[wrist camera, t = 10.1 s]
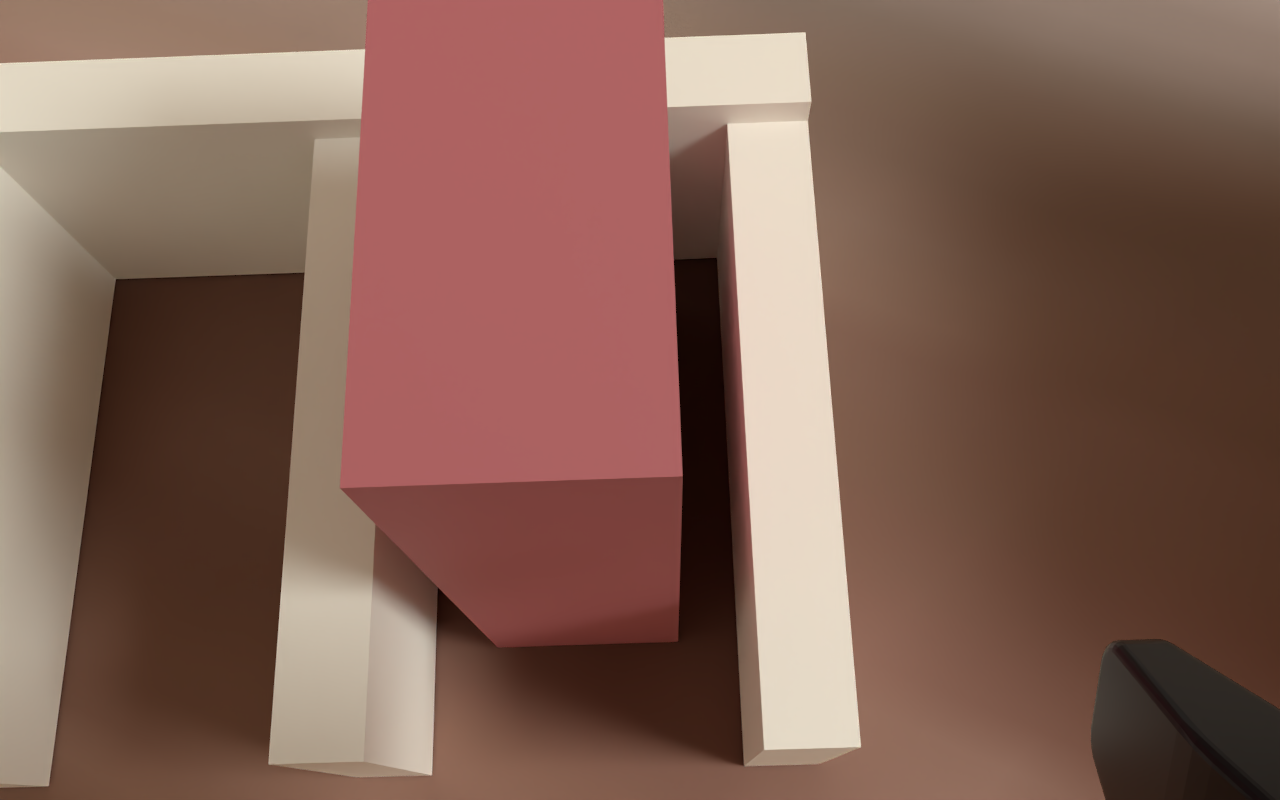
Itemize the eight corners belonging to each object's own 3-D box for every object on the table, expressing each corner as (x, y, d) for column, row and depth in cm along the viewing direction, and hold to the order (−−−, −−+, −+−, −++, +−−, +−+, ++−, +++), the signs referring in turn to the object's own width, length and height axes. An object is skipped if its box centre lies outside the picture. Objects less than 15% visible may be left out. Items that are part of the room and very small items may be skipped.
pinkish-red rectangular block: (677, 641, 20) (682, 476, 10) (498, 647, 20) (340, 488, 10) (665, 309, 22) (659, -81, 12) (501, 315, 22) (372, -69, 12)
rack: (819, 764, 19) (1080, 656, 7) (-404, 799, 19) (-2246, 757, 7) (777, 198, 23) (902, -550, 10) (-263, 235, 23) (-1346, -447, 11)
